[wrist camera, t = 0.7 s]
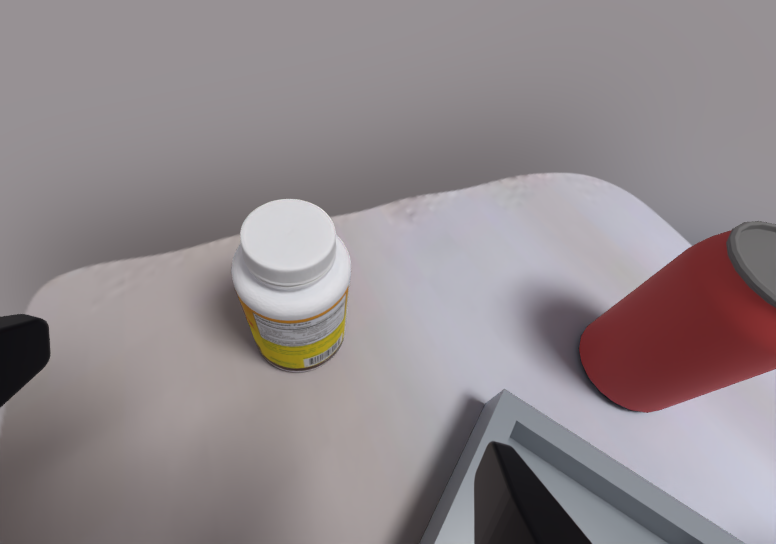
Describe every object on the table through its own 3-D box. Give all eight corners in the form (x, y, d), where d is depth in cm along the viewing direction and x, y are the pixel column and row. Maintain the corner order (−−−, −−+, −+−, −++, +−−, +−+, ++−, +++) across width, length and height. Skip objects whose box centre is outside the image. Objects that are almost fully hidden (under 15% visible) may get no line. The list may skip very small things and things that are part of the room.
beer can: (593, 415, 24) (781, 336, 14) (562, 321, 28) (693, 207, 18) (685, 414, 25) (921, 339, 15) (643, 323, 29) (810, 216, 19)
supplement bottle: (274, 287, 26) (251, 172, 18) (353, 307, 26) (367, 200, 18) (241, 364, 23) (192, 267, 14) (331, 386, 23) (335, 302, 14)
